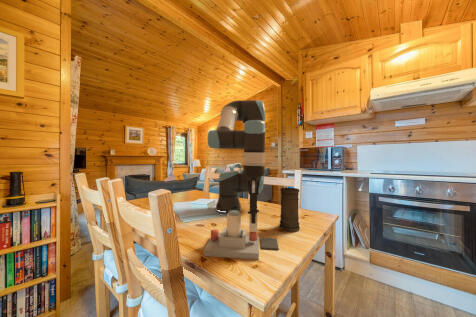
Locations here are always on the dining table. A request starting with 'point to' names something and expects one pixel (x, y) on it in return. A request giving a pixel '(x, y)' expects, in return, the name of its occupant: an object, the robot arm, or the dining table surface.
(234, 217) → the cylinder
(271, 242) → the mat
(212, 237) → the plunger
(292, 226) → the container
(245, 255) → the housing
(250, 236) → the plunger
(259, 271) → the dining table surface
